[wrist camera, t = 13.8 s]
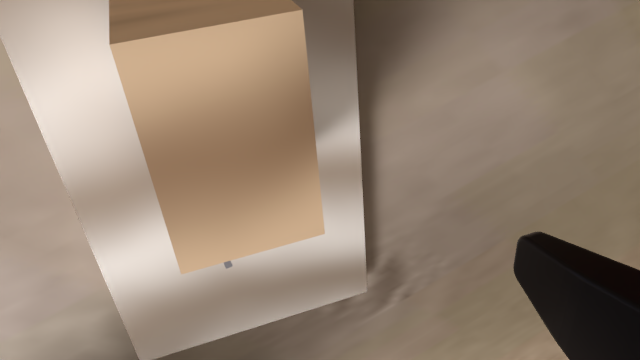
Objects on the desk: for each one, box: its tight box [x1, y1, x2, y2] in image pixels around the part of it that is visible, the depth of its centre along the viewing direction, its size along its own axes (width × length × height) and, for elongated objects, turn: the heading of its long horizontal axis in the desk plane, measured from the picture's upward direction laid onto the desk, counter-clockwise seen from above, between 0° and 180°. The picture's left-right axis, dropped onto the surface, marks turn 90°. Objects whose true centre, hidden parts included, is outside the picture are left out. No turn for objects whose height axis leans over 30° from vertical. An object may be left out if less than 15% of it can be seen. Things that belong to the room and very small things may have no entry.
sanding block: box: [109, 0, 325, 274], centre depth 16 cm, size 7×4×5 cm, turn 5°
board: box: [0, 0, 367, 360], centre depth 21 cm, size 16×11×1 cm
